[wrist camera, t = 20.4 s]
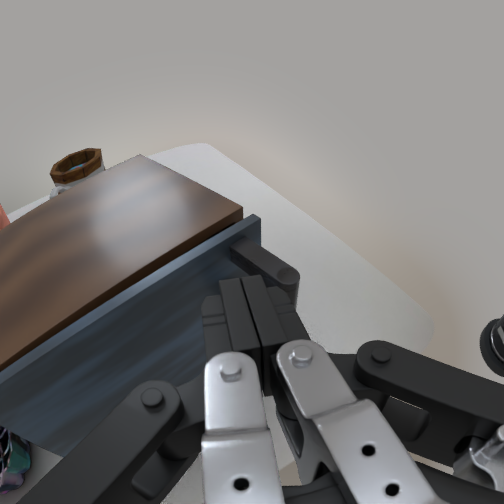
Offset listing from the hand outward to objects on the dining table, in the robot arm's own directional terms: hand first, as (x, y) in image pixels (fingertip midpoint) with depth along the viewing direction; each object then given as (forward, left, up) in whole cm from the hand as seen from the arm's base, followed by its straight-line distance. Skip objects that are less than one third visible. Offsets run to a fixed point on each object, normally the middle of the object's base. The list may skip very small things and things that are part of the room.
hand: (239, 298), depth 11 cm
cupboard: (+19, +4, -29) cm, 35 cm away
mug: (+61, -5, -29) cm, 68 cm away
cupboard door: (+6, +4, -29) cm, 30 cm away
